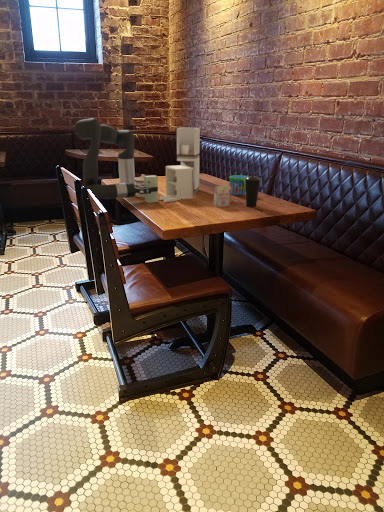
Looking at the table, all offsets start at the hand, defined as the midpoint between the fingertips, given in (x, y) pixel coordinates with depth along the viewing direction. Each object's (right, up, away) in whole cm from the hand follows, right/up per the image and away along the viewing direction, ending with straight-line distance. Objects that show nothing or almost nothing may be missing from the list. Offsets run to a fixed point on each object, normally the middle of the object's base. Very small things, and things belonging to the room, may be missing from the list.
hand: (154, 187), depth 207 cm
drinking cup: (+49, -11, -7) cm, 50 cm away
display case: (+17, +3, +28) cm, 33 cm away
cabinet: (+9, -4, +10) cm, 14 cm away
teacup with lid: (-7, -2, +16) cm, 18 cm away
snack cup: (+45, -1, +19) cm, 49 cm away
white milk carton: (+34, -11, -7) cm, 36 cm away
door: (-2, -7, +2) cm, 7 cm away
